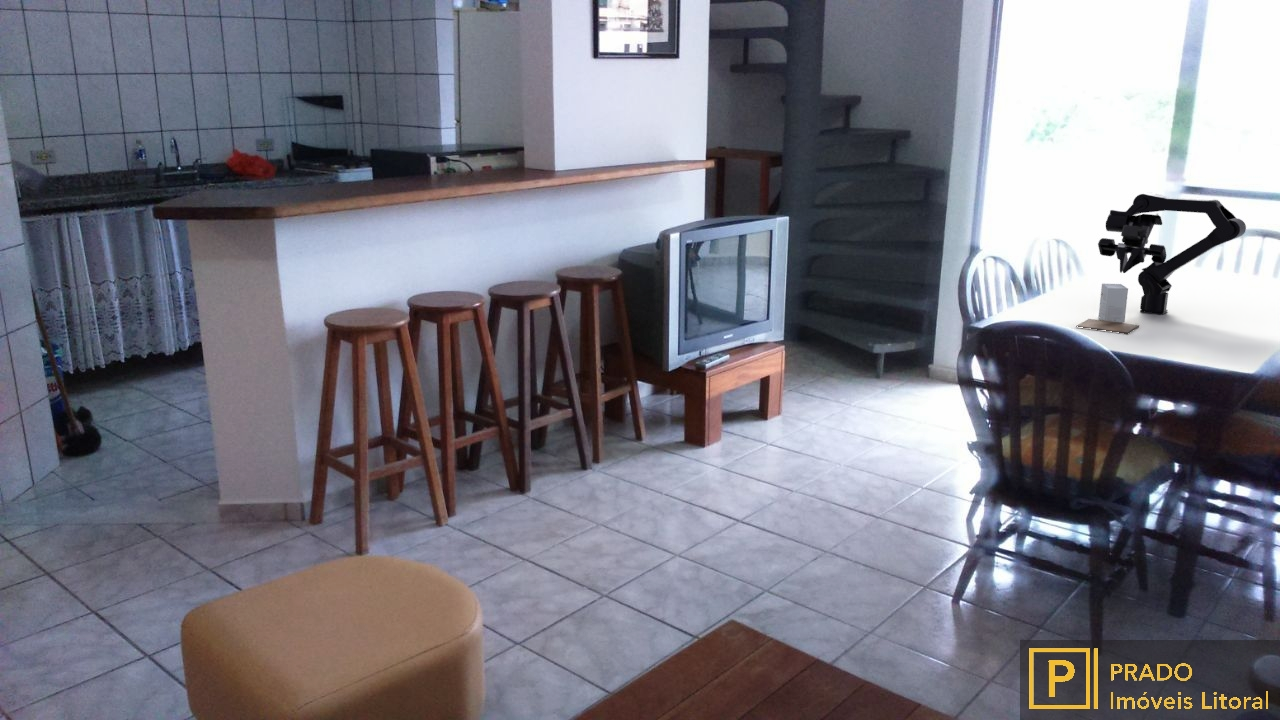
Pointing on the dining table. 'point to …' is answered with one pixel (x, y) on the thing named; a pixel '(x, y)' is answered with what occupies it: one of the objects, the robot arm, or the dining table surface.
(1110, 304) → the small box
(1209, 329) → the dining table surface
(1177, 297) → the dining table surface
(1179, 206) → the robot arm
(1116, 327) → the walnut board
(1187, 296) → the dining table surface
